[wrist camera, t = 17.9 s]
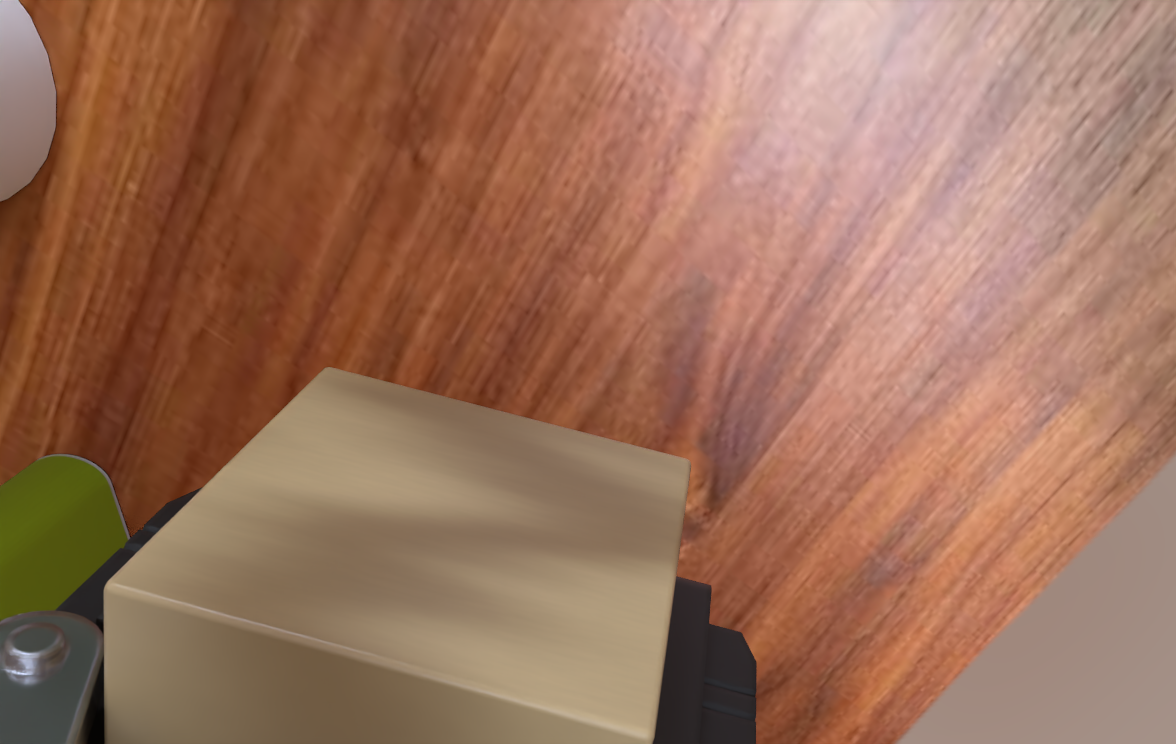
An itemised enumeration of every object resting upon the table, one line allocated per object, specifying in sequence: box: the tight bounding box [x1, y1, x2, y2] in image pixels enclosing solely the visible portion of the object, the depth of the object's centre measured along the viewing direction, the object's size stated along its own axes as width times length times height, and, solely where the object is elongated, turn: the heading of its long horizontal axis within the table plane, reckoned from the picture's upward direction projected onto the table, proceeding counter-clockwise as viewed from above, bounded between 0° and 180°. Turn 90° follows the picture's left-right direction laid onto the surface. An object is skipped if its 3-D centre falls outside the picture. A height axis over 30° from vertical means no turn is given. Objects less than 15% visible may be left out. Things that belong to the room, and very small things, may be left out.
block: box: [104, 367, 691, 744], centre depth 12 cm, size 5×5×5 cm
